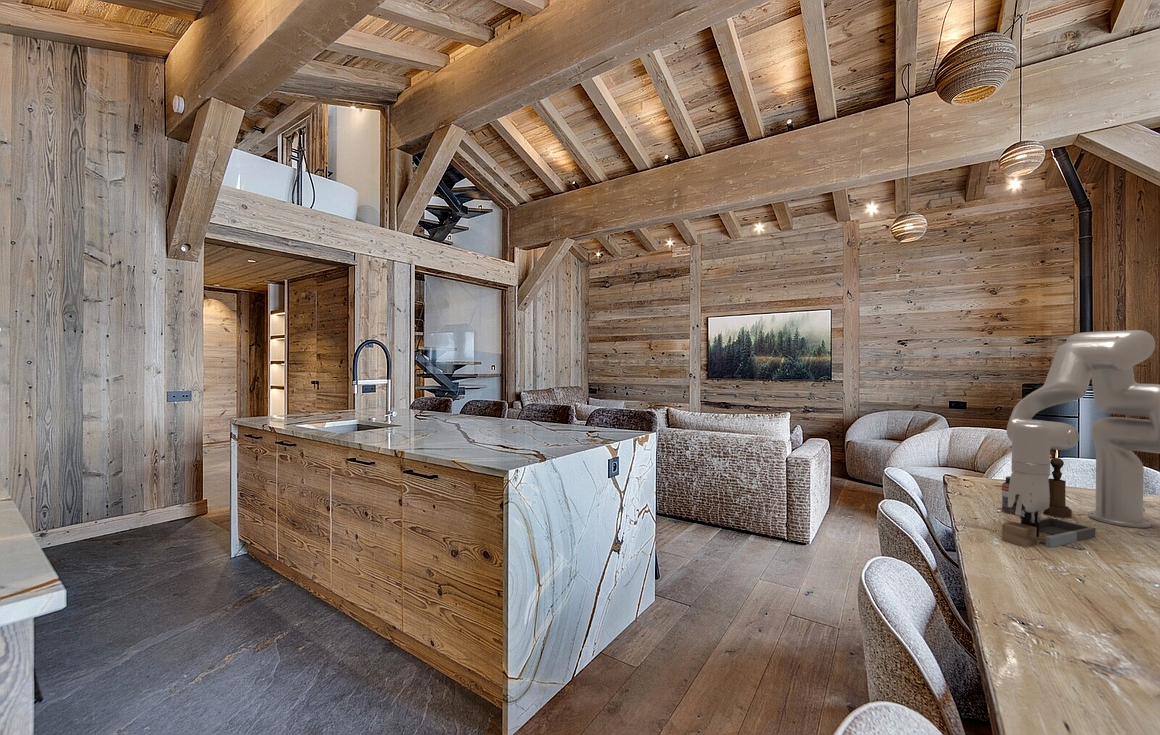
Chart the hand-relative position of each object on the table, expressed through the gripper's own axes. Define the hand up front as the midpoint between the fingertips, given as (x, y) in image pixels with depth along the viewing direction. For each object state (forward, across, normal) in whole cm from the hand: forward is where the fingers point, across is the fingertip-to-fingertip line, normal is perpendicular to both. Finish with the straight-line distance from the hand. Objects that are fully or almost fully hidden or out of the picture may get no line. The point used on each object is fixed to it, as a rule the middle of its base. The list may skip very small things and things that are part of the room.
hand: (1029, 535), depth 127 cm
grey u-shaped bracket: (+1, -9, 0) cm, 9 cm away
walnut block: (+1, +5, 0) cm, 5 cm away
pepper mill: (+2, -35, -10) cm, 36 cm away
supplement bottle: (+2, -25, -16) cm, 29 cm away
